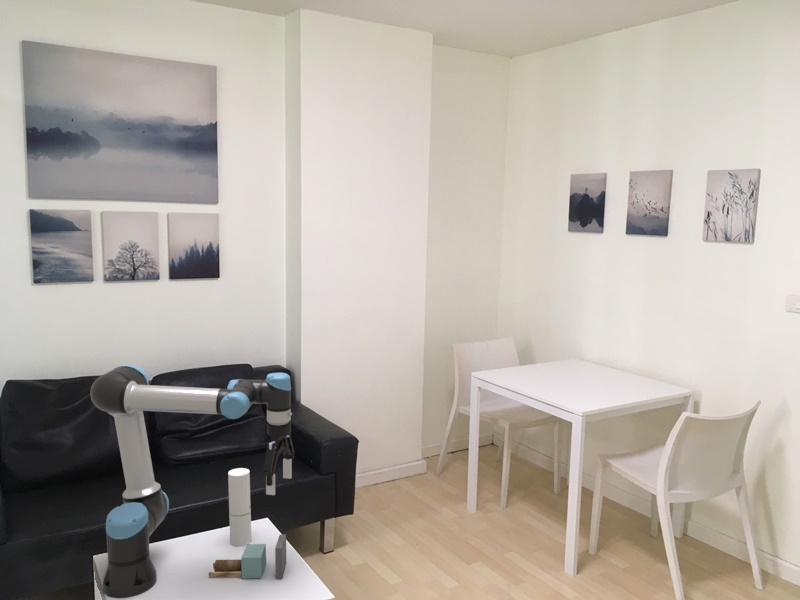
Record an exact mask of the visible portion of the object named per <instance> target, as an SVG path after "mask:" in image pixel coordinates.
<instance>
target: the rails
mask: <svg viewBox="0 0 800 600" xmlns="http://www.w3.org/2000/svg"><path fill="white" fill-rule="evenodd" d="M212 565H213V566H212V567H213V569H214V566H215V562H213V563H212ZM207 575H208V579H211V578H212V579H214V578H216V579H217V578H220V579H221V578H222V579H223V578H224V579H225V578H242V572H241V571H233V572H214V571H208V574H207Z"/></svg>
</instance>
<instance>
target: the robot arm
mask: <svg viewBox="0 0 800 600" xmlns="http://www.w3.org/2000/svg"><path fill="white" fill-rule="evenodd" d="M291 385H292V383H291V376H290V375H289V374H288V373H285V372H272V373H268V374H267V375H266V379H243V378H239V379H232V380H231V379H230V381H229V382H228V385H227V388H216V387H215V388H209V387H189V386H176V385H175V386H173V385H151V384H150V381H149V377H148V375H147V373H146V372H145V371H144V370H143V369H142V368H141V367H139V366H137V365H134V364H124V365H120V366H117V367H115V368H113V369H112V370H110V371H108V372H106V373H104V374H101V375H99V376H98V377H97V378H96V379H95V380H94V381H93V382H92V385H91V386H90V387H91V388H90V390H89V392H90V393H89V394H90V399H91V402H92V403H93V405H94V406H95V408H97V409H98V410H100V411H102V412H105V413H107V414H109V415H110V416H112V417H113V419H114V425H115V430H116V435H117V436H116V437H117V441H118V448H119V453H120V458H121V459H120V460H121V463H122V470H123V475H124V480H125V481H124V482H125V486H126V489H125V490H124V491H123V492H122V494H121V495H122V502H123V503H122V504H120V506H116V507H115V508H113V509H112V510H110V511H109V513H108V514H107V516H106V521H105V533H106V546H107V547H106V548H107V549H106V550H107V562H108V563H107V566H106V570H105V573H104V576H103V580H102V589H103V590H102V591H103V593H104V594H105V595H107V596H109V597H111V598H112V597H113V598H127V597H132V596H137V595H139V594H142V593H145V592H146V591H148V590H149V589H151V588H152V587H153V586H154V585H155V584H156V582H157V579H158V578H157V569H156V567H155V565H154V563H153V561H152V558H151V556H150V536H151V535H152V534H153V533H154V532H155V531H156V529H157V528H158V527H159V526H160V524H162V522H163V521H164V520H165V519H166V516H167V515H168V512H169V508H170V501H169V497H168V495H167V493H165V492H164V491H163V490H162V487H161V484H160V483H159V482H157V481H156V480H155V474H154V469H153V463H152V458H151V457H152V456H151V452H150V445H149V440H148V432H147V428H146V422H145V416H144V412H159V413H161V412H163V413H164V412H165V413H182V414H183V413H184V414H185V413H187V414H204V415H205V414H208V415H223V416H224V417H226V418H227V419H229V420H236V419H237V420H238V419H239V418H241V417H242V416H244V414H246V413H247V412H248V410H249V409H250V408H251V406H252V405H253V404H255V405H258V404H259V405H261V404H262V405H266V421H267V423H266V433H267V436H270V437H271V440H270V442H269V441H268V442H267V443H266V451H265V452H266V453H265V457H264V461H263V462H264V463H263V468H262V476H265V495H268V496H275V495H276V474H275V470H276V466H277V463H278V459H279V456H280V455H281V454H282V456H283V457H284V458H283V459H282V478H283V479H290V480H291V479H292V477H293V476H292V475H293V474H292V473H293V472H292V470H293V469H292V467H293V466H292V463H293V460H292V459H295V457H296V456H295V448H294V445H293V440H292V437H291V435H292V422H291V419H292V418H291V416H292V415H293V412H292V411H291V410H292V409H291V407H292V386H291Z"/></svg>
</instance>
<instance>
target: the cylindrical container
mask: <svg viewBox="0 0 800 600" xmlns="http://www.w3.org/2000/svg"><path fill="white" fill-rule="evenodd" d="M227 475H228V478H227V480H228V481H227V482H228V483H227V484H228V511H229V513H228V514H229V543H230V545H231V546H233V547H244V546H245V547H246V545H247V544H251V543H252V514H251V511H252V509H251V507H252V506H251V477H250V476H251V475H250V469H249V468H246V467H245V468H244V467H237V468H232V469H231V470H229V471H228V473H227Z"/></svg>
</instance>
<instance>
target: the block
mask: <svg viewBox="0 0 800 600" xmlns="http://www.w3.org/2000/svg"><path fill="white" fill-rule="evenodd" d="M240 560H241V567H242V572H241V575H242V576H241V579H262V577H263V574H264V571H265V568H266V565H267V544H266V543H249V544H247V545H245V548H244V550H243V553H242V555H241V559H240Z"/></svg>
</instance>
